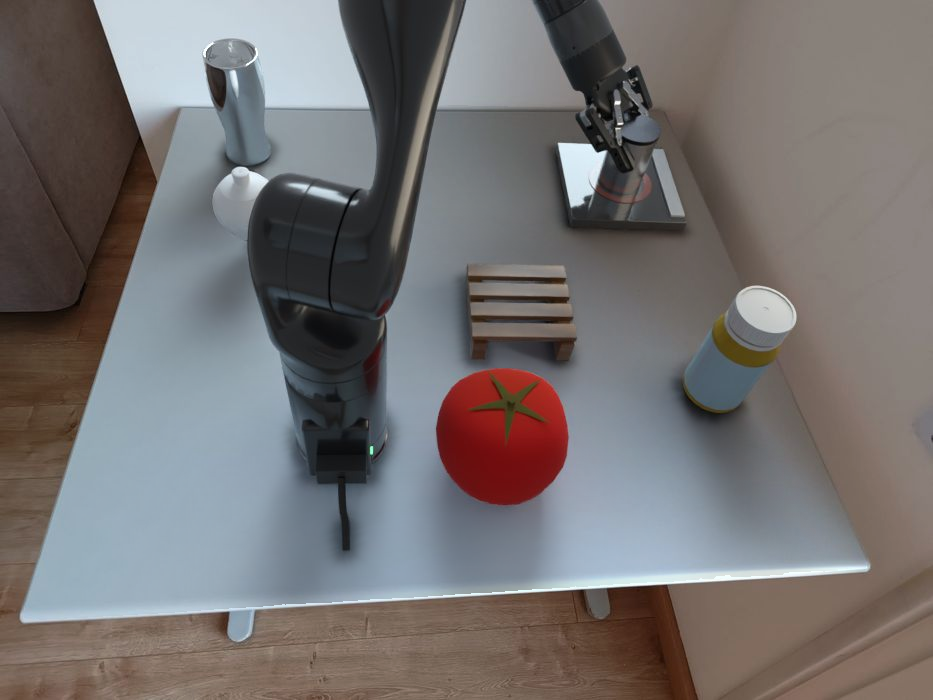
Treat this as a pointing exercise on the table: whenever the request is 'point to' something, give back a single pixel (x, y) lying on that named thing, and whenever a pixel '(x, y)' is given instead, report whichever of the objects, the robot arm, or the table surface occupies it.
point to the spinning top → (237, 199)
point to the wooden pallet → (519, 307)
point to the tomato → (502, 435)
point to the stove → (606, 209)
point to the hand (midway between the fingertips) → (639, 158)
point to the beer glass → (238, 98)
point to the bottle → (739, 349)
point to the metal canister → (640, 143)
